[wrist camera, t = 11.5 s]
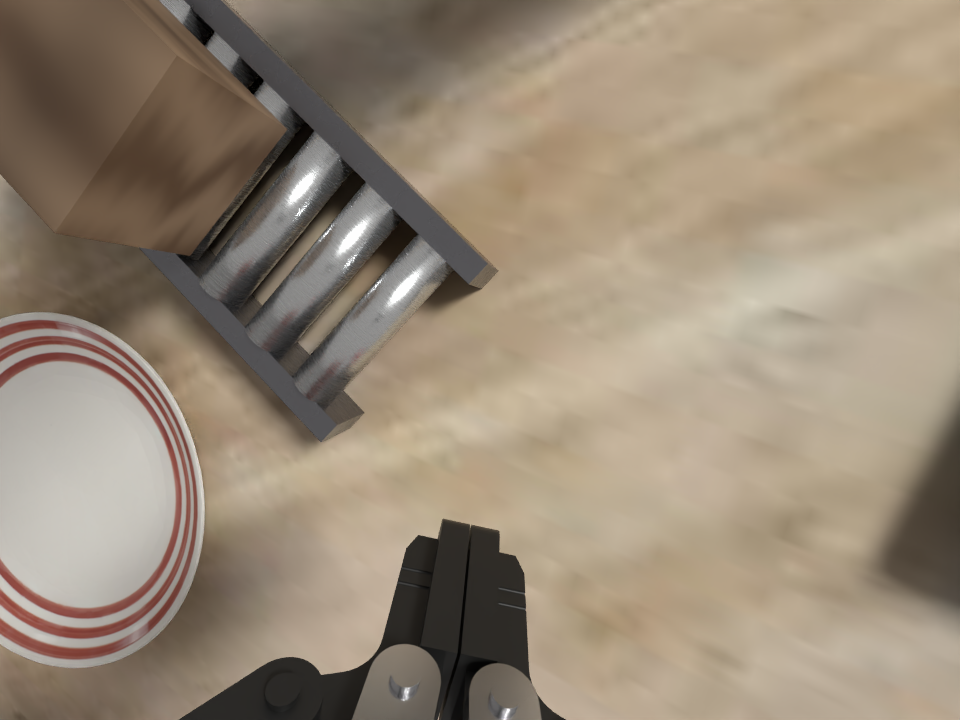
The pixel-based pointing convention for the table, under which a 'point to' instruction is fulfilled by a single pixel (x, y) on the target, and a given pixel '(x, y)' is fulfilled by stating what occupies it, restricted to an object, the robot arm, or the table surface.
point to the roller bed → (333, 257)
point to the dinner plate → (90, 494)
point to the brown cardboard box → (123, 122)
